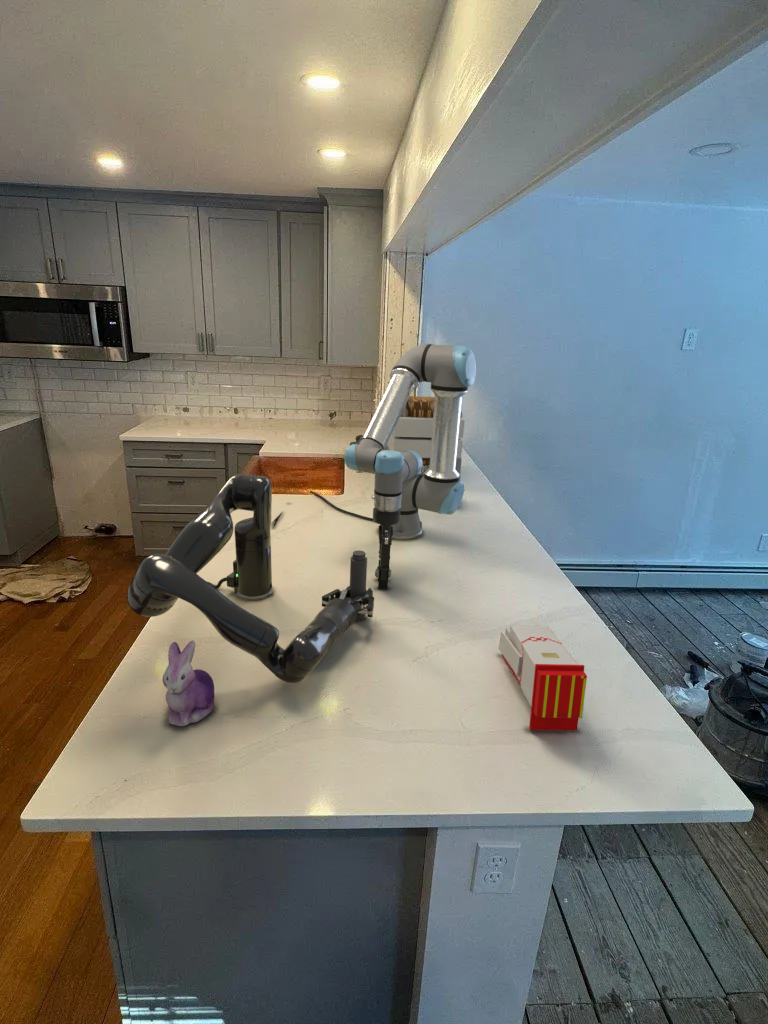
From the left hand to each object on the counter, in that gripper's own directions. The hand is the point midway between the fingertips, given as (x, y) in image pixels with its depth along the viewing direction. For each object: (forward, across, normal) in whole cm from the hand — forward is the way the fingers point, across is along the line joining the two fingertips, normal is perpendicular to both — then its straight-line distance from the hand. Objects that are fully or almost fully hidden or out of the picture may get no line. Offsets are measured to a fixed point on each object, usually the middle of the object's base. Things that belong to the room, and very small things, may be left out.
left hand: (361, 589), depth 146 cm
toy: (-14, +46, -6) cm, 48 cm away
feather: (+53, -55, -6) cm, 76 cm away
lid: (+17, 0, -2) cm, 17 cm away
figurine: (-49, -15, -6) cm, 52 cm away
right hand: (+17, 0, -6) cm, 18 cm away
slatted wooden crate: (+134, -26, -6) cm, 137 cm away
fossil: (+155, -67, -6) cm, 169 cm away
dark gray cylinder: (-3, 0, -6) cm, 7 cm away
